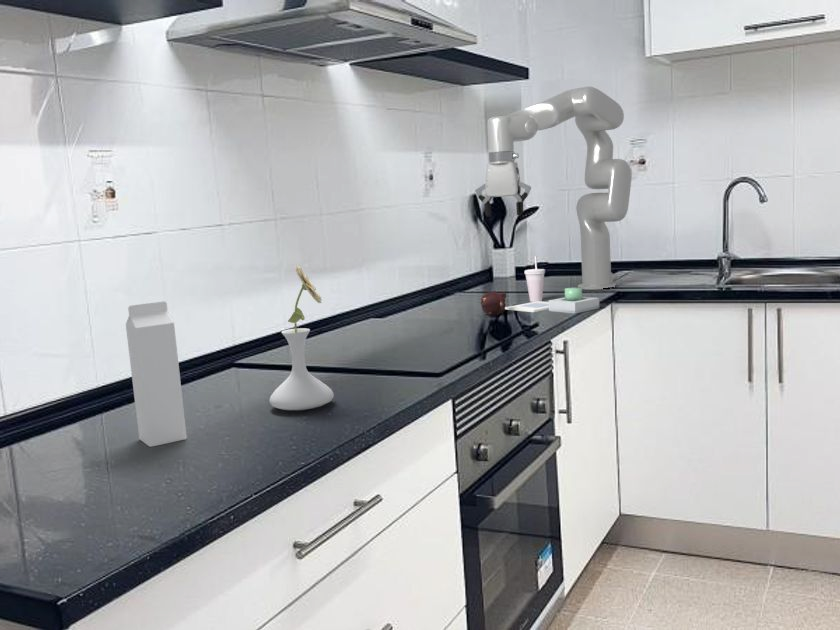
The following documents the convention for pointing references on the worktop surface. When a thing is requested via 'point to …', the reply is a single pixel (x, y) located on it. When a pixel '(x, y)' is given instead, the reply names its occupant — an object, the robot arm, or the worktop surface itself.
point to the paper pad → (530, 307)
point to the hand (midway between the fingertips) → (504, 216)
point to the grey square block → (574, 305)
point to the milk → (155, 374)
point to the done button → (573, 294)
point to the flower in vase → (300, 366)
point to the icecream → (493, 303)
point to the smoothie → (535, 282)
